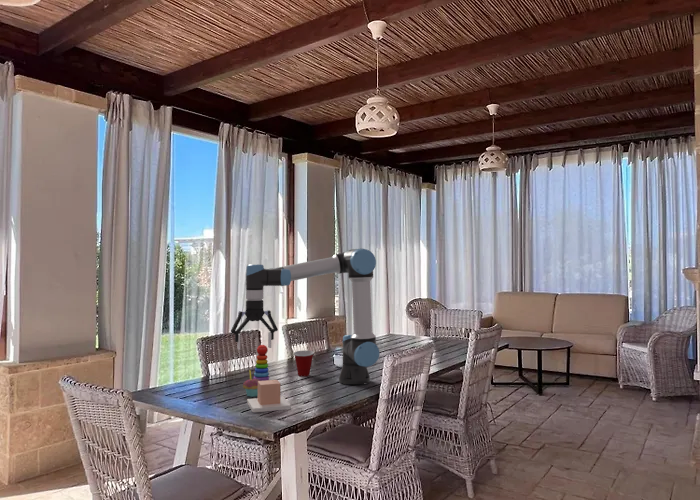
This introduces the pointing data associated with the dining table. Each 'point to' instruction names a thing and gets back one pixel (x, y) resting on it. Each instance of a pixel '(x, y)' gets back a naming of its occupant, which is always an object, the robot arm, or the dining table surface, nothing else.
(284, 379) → the dining table surface
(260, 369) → the stacking toy
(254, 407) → the base plate
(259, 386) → the tan cube
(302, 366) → the plastic cup
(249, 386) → the cupcake
